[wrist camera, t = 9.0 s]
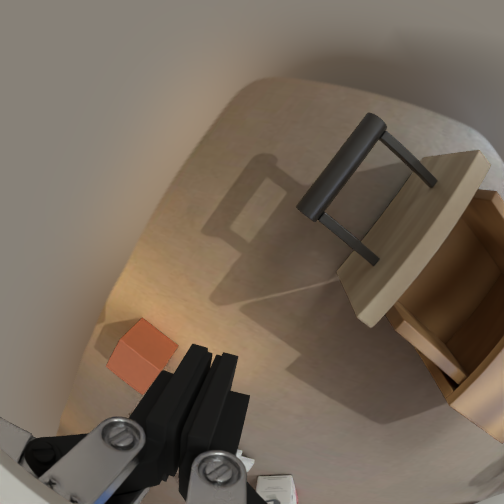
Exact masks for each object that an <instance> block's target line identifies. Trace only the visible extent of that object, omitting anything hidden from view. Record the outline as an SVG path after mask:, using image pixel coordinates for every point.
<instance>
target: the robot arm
mask: <svg viewBox="0 0 504 504" xmlns="http://www.w3.org/2000/svg"><path fill="white" fill-rule="evenodd" d="M211 360H212V353H210V352H208V348H206V347H203V346H199V345H196V344H192V345H191V347H190V348H189V350H188V352H187V353H186V355H185V356H184V358H183V360H182V361H181V363H180V365H179V366H178V368H177V369H176V371H175V373H174V374H173V373H170V372H167V371H164V370H163V371H161V372H160V374H159V375H158V376H157V378H156V379H155V381H154V382H153V384H152V385H151V387H150V388H149V389H148V391H147V392H146V394H145V395H144V397H143V398H142V400H141V401H140V403H139V404H138V405H137V407H136V408H135V410H134V411H133V413H132V414H131V416H130V417H129V418H126V417H111V418H108V419H106V420H104V421H102V422H101V423H100V424H99V425H98V426H97V427H96V428H95V429H93V430H92V431H91V432H90V433H87V434H78V435H68V436H56V437H41V438H35V437H33V435H32V434H31V433H29V432H28V431H25V430H23V429H21V428H20V427H17V426H16V425H14V424H12V423H10V422H8V421H6V420H5V419H3V418H1V417H0V504H139V503H140V502H141V501H142V499H143V498H144V497H145V495H146V494H147V493H148V491H149V490H150V487H152V486H156V485H160V482H161V480H163V481H165V482H166V481H167V478H168V476H169V475H170V476H173V477H174V476H175V474H176V472H177V470H178V467H179V492H180V494H181V495H182V497H183V498H184V500H185V501H186V504H268V503H267V502H266V501H265V500H264V499H263V498H262V497H261V496H260V495H259V494H258V493H257V492H256V491H255V490H254V489H253V488H252V487H251V486H250V484H249V483H248V482H247V472H246V467H245V465H244V464H243V462H242V461H241V460H240V459H239V458H238V457H237V456H236V454H237V450H238V445H239V441H240V437H241V433H242V429H243V425H244V420H245V416H246V412H247V407H248V403H249V398H250V395H246V394H241V393H237V392H233V391H230V390H231V386H232V382H233V378H234V373H235V369H236V365H237V360H238V356H236V355H232V354H228V353H224V352H223V354H222V356H220V355H216V357H215V359H214V361H213V363H212V365H211ZM210 366H211V368H210Z"/></svg>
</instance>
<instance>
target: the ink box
mask: <svg viewBox="0 0 504 504" xmlns="http://www.w3.org/2000/svg"><path fill="white" fill-rule="evenodd" d="M256 492H257V493H258V494H259V495H260V496H261V497H262V498H263V499H264V500H265V501H266V502H267V503H268V504H298V496H297V492H296V489H295V486H294V482H293V478H292V475H281V476H258V479H257V486H256Z"/></svg>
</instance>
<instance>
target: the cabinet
mask: <svg viewBox="0 0 504 504" xmlns="http://www.w3.org/2000/svg"><path fill="white" fill-rule="evenodd" d="M414 348H415V347H414ZM415 349H416V351H417V353H418V354H419V356H420V357H421V359H422V361H423V362H424V364H425V365H426V367H427V369H428V370H429V372H430V374H431V375H432V377H433V379H434V380H435V382H436V384H437V385H438V387H439V389H440V391H441V392H442V394H443V396H444V398H445V399H446V401H447V403H448V405H449V406H450V407H452V408H453V409H454V410H456V411H457V412H459V413H460V414H461V415H463V416H464V417H466V418H467V419H468V420H470V421H471V422H473V423H474V424H475V425H477V426H478V427H479V428H481V429H482V430H484V431H485V432H486V433H488V434H489V435H491V436H492V437H493V438H495V439H496V440H498V441H499V442H500V443H502V444H503V443H504V336H503V337H502V338H501V340H500V341H499V342H498V343H497V345H496V346H495V347H494V348H493V350H492V351H491V352H490V353H489V354H488V356H487V357H486V358H485V359H484V360H483V361H482V362H481V364H480V365H479V366H478V367H477V368H476V369H475V370H474V371H473V372H472V373H471V374H470V376H469V377H468V378H467V379H466V380H465V381H464V382H463V383H462V384H461V385H459V384H457V383H456V382H455V381H454V380H453V379H452V378H451V377H449V376H448V375H447V374H446V373H445V372H444V371H442V370H441V369H440V368H439V367H438V366H437V365H435V364H434V363H433V362H432V361H431V360H430V359H428V358H427V357H426V356H425V355H424V354H423V353H421V352H420V351H419V350H418V349H417V348H415Z"/></svg>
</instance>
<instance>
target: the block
mask: <svg viewBox="0 0 504 504" xmlns="http://www.w3.org/2000/svg"><path fill="white" fill-rule="evenodd" d="M177 348H178V345H177V344H176V343H174V342H173V341H172V340H170V339H169V338H168V337H166V336H165V335H164V334H162V333H161V332H160V331H159V330H157V329H156V328H155V327H153V326H152V325H151V324H150V323H148V322H147V321H146V320H145V319H143V318H142V319H141V320H139V321H138V322H137V323H136V324H135V325H134V326H133V327H132V328H131V329H130V330H129V331H128V332H127V333H126V334H125V335H124V336H123V337H122V338H121V339H120V340H119V342H118V344H117V345H116V347H115V349H114V351H113V353H112V355H111V357H110V359H109V361H108V363H107V365H106V367H107V368H109V369H110V370H111V371H112V372H113V373H115V374H116V375H117V376H118V377H120V378H121V379H122V380H123V381H125V382H126V383H127V384H129V385H130V386H131V387H132V388H134V389H135V390H136V391H138V392H139V393H140V394H142V395H143V394H144V393H145V392H146V390H147V389H148V388H149V387H150V385H151V384H152V383H153V381H154V380H155V379H156V377H157V376H158V375H159V374H160V372H161V371H162V369H163V368H164V367H165V365H166V364H167V362H168V361H169V359H170V358H171V356H172V355H173V353H174V352H175V351H176V349H177Z"/></svg>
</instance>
